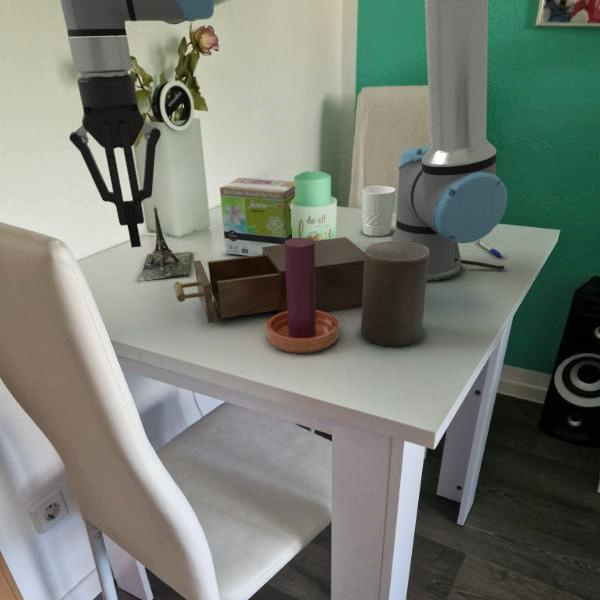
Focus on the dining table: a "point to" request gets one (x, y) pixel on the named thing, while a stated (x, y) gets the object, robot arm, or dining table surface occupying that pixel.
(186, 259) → the eiffel tower figurine
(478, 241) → the ballpoint pen
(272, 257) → the cabinet
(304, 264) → the dark purple cylinder
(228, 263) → the drawer
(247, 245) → the tea box
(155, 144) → the robot arm
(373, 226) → the white cup
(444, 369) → the dining table surface
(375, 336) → the pillar candle
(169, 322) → the dining table surface
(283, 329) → the saucer
